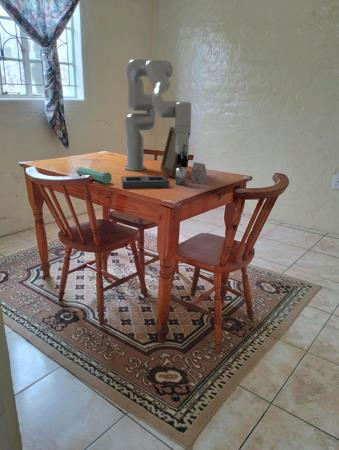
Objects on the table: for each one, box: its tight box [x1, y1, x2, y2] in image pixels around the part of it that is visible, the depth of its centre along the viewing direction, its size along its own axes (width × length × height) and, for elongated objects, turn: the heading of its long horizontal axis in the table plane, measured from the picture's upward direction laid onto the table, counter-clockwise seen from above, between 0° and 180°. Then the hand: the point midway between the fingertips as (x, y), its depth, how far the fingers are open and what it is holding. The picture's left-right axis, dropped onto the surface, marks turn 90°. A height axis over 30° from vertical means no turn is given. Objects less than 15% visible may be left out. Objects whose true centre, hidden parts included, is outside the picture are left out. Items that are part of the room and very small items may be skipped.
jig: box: [121, 175, 170, 189], centre depth 173 cm, size 12×22×3 cm, turn 100°
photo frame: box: [160, 126, 191, 178], centre depth 197 cm, size 15×22×25 cm
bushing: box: [175, 167, 187, 186], centre depth 176 cm, size 5×5×8 cm
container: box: [76, 166, 113, 185], centre depth 181 cm, size 6×6×25 cm
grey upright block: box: [190, 161, 207, 185], centre depth 180 cm, size 4×7×10 cm, turn 48°
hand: (181, 165), depth 173 cm, fingers open, 9 cm apart
